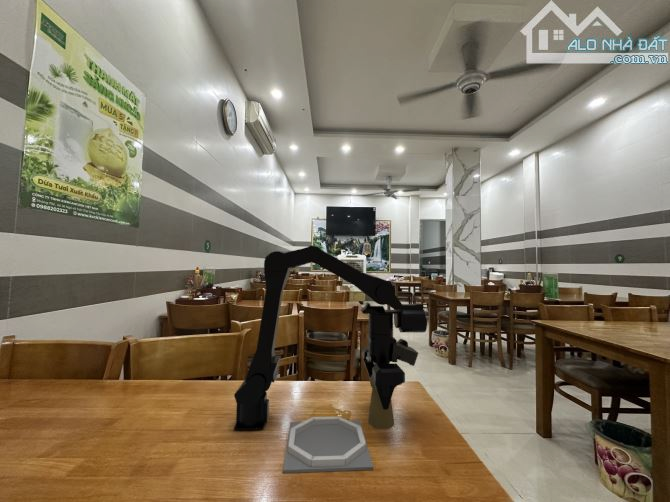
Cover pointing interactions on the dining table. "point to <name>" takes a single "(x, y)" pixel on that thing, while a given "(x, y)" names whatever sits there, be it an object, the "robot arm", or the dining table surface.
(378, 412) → the olive brown pawn
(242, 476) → the dining table surface
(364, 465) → the collar plate
